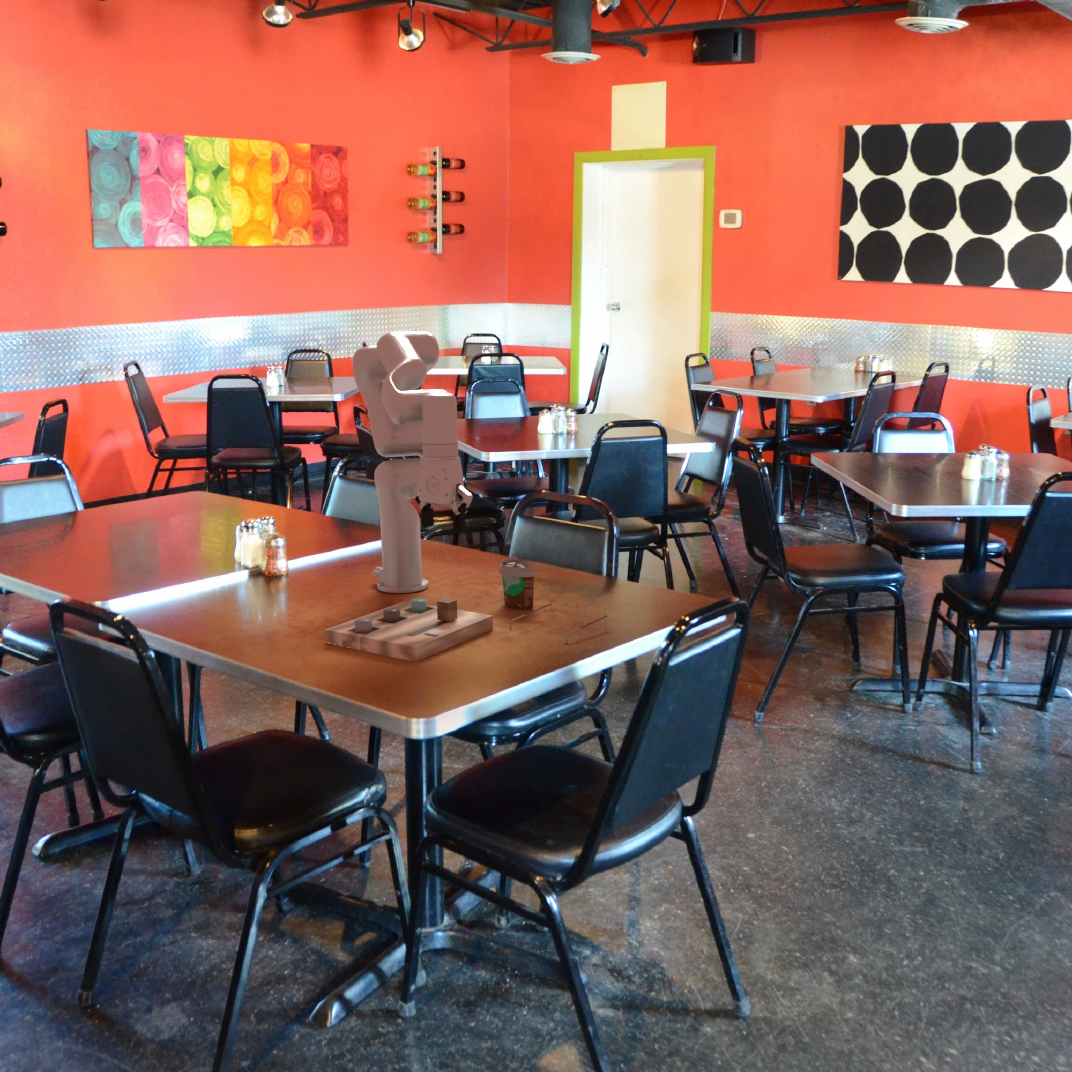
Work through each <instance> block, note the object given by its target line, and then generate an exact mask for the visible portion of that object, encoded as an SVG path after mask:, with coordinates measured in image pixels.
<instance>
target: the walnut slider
mask: <svg viewBox="0 0 1072 1072" xmlns="http://www.w3.org/2000/svg"><path fill="white" fill-rule="evenodd" d="M436 606H437V620H442V621H448V622H449V621H452V620H454V619H457V610H458V600H457V599H453V598H447V597H444V598H442V599H440V600H437V601H436Z"/></svg>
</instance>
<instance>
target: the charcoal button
mask: <svg viewBox="0 0 1072 1072" xmlns="http://www.w3.org/2000/svg"><path fill="white" fill-rule="evenodd" d="M386 608H387V607H386ZM383 609H384V610H383V617H384V622H387V623H392V624H394V623H397V622H399V621H401V616H400V609H399V608H387V609H385V608H383Z"/></svg>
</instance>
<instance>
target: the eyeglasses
mask: <svg viewBox="0 0 1072 1072" xmlns="http://www.w3.org/2000/svg"><path fill="white" fill-rule="evenodd" d="M556 599H565V600H569V601H571V602H573V603H574V604H575V606H576V613H575V616H574V617H572V618H571V620H574V619H577V618H576V617H577V616H578V611H579V607H580V608H584V610H583V611H584V613H585V617H586V619H587V621H588V622H589V623H588V624H585V625H583V626H581V627H578V628H576V629H574V630H571V631H570V632H568V633H567V634H566V636H565V639H564V640H565V641H564V643H565V644H568V636H570V635H571V634H573V633H575V632H578V631H580V630H582V629H584V628H586V627H588V626H590V625H593V624H595V623H596V622H599V621H601V620H603V619H606V620H605V621H606V623H605V626H604V628H606V627H607V626H608V615H607V612H606V610H605V609H604V607H603V606H601V605H599V604H596V603H595V604H594V603H590V602H585V601H581V600H576V599H571V598H566V597H563V596H559V597H558V596H557V597H554V598H553V599H552V600H551V602H549V604H546V605H543V606H542V607H539V608H537V609H533V610H532V611H530V612H527V613H525V614H522V615H520V616H518V617H517V616H516V617H515V618H512V619H511V621H510V623H509V630H512V629H513V628H512V623H513V622H515V621H517V620H519V619H521V618H524V617H525V616H528V615H531V614H533V613H535V612H537V611H539V610H542V609H544V608H547V607H548V606H550V611H551V614H552V615H553V616H554V617H557V615H556V614H555V613H554V611H553V607H552V606H553V602H554V600H556ZM577 602H580V603H585V604H586V605H585V606H581V605H578V604H577ZM587 606H597V607H599V608H601V609H602V610H603V612H604V614H605V616H603V617H600V618H598V619H596V620H593V621H590V620H589V618H588V614H587V610H586V609H587Z"/></svg>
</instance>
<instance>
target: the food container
mask: <svg viewBox="0 0 1072 1072" xmlns="http://www.w3.org/2000/svg"><path fill="white" fill-rule="evenodd" d="M498 572H499V574H501V577H502V578H501V580H502V591H503V599H504V601H503V602H504V607H506V608H508V609H512V610H525V611H526V610H534V593H535V592H534V588H535V586H534V585H535V584H534V583H535V582H534V581H535V577H536V574H535V573H536V571H535V567H534V566H533V567H532V566H531V567H528V566H527V565H526V564H525V563H522V562H519V561H518V556H513V557H509V558H504V559H503V560H502V561H501V562H500V564H499V569H498Z"/></svg>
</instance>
